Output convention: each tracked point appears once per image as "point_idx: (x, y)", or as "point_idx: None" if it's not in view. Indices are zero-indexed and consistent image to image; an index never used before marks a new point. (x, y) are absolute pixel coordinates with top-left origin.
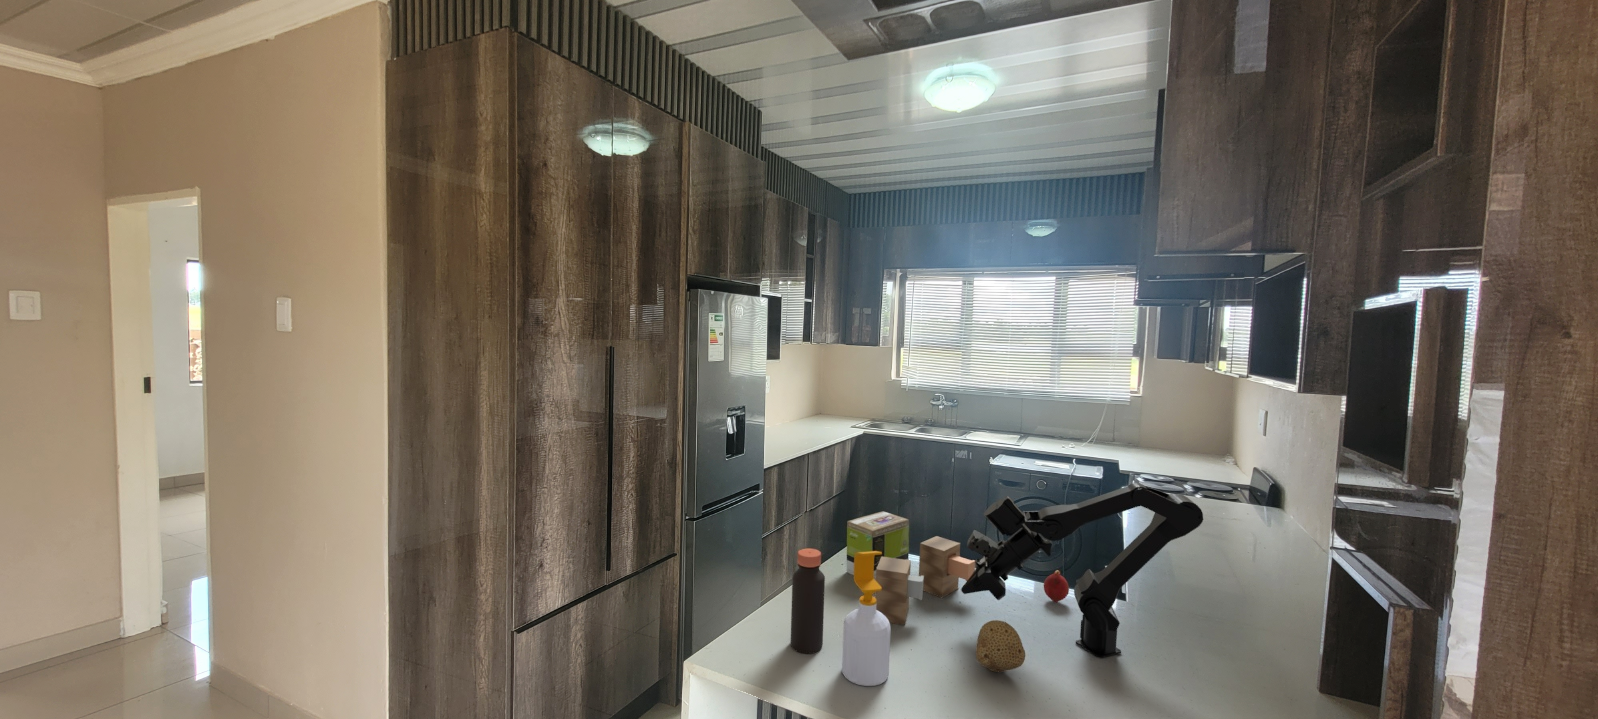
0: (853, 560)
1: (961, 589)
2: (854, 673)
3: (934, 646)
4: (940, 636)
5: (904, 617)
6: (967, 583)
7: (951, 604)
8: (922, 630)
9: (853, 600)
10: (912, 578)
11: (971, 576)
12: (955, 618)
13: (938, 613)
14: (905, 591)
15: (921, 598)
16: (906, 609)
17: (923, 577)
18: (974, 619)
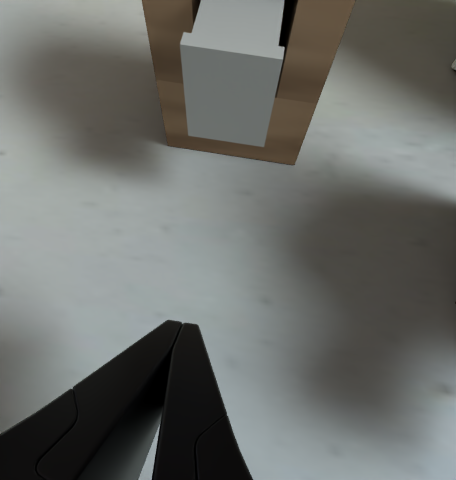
0: None
1: (173, 321)
2: None
3: (14, 227)
4: (92, 257)
5: (165, 123)
6: (121, 364)
7: (401, 341)
8: (135, 197)
9: None
10: (233, 11)
11: (175, 429)
12: (262, 342)
13: (291, 271)
14: (146, 21)
15: (188, 127)
16: None
17: (256, 58)
18: (274, 443)
